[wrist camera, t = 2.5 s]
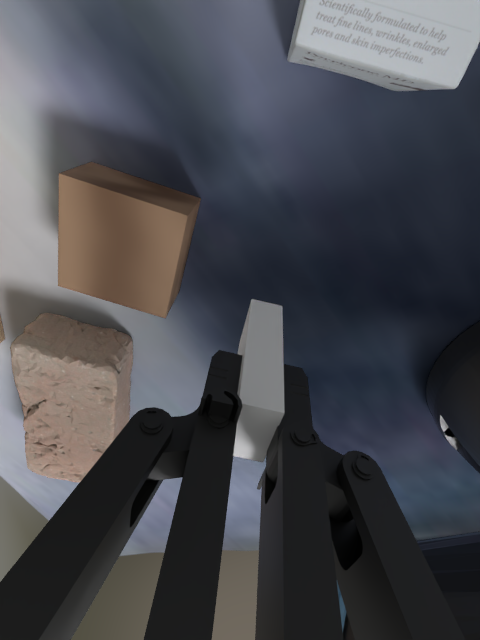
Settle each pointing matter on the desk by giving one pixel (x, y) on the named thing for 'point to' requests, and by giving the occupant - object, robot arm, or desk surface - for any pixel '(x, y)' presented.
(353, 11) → the skincare box
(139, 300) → the block
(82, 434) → the brick
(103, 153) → the desk surface
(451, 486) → the desk surface
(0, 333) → the board
